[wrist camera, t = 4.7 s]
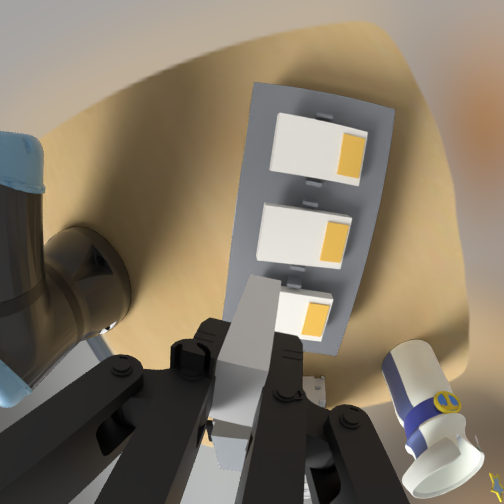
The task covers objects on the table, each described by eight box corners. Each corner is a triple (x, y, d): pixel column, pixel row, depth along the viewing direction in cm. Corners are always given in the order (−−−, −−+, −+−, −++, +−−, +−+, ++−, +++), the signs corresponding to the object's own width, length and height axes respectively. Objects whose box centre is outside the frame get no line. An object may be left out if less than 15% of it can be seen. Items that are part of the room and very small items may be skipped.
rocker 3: (246, 323, 28) (244, 331, 27) (252, 281, 27) (251, 287, 25) (319, 334, 28) (321, 342, 26) (331, 293, 26) (333, 300, 25)
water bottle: (391, 332, 34) (454, 513, 10) (444, 340, 33) (522, 491, 10) (368, 381, 37) (395, 550, 13) (419, 386, 36) (465, 533, 12)
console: (229, 307, 36) (213, 344, 29) (259, 95, 28) (247, 76, 21) (331, 325, 35) (337, 366, 27) (378, 117, 27) (402, 106, 20)
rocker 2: (256, 255, 25) (257, 261, 24) (264, 202, 24) (266, 205, 23) (335, 263, 26) (340, 270, 25) (347, 214, 25) (352, 218, 23)
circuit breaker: (218, 373, 40) (186, 458, 25) (324, 376, 37) (328, 469, 23) (224, 409, 42) (199, 489, 28) (320, 412, 40) (320, 498, 25)
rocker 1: (269, 169, 23) (271, 171, 22) (277, 114, 22) (280, 112, 20) (353, 184, 24) (359, 186, 22) (361, 132, 22) (368, 132, 21)
